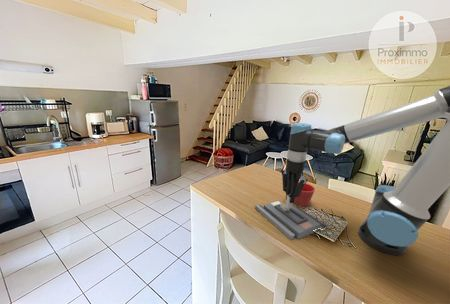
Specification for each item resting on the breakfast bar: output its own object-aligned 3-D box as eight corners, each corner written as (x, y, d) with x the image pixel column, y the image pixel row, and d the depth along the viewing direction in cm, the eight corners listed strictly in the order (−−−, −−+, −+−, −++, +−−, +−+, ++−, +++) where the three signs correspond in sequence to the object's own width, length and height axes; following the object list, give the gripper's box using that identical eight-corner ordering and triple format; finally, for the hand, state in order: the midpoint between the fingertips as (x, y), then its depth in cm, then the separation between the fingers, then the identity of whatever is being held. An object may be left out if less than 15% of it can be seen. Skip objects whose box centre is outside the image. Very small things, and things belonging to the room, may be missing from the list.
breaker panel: (319, 229, 80) (321, 222, 79) (298, 239, 74) (299, 231, 73) (282, 204, 99) (283, 197, 97) (263, 210, 93) (264, 203, 92)
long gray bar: (325, 229, 80) (326, 225, 80) (321, 231, 79) (322, 227, 79) (285, 202, 101) (285, 199, 100) (281, 203, 99) (281, 200, 99)
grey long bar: (296, 237, 75) (297, 234, 74) (290, 240, 74) (291, 236, 73) (259, 206, 95) (259, 203, 95) (254, 208, 94) (255, 205, 93)
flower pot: (314, 209, 95) (317, 192, 92) (291, 206, 97) (294, 189, 94) (309, 199, 105) (312, 183, 102) (289, 196, 107) (291, 181, 104)
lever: (289, 210, 88) (290, 201, 87) (284, 211, 86) (285, 203, 85) (284, 206, 90) (286, 198, 89) (279, 208, 89) (280, 200, 88)
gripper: (315, 163, 75) (305, 213, 82) (290, 154, 86) (284, 199, 93) (302, 165, 72) (293, 217, 79) (278, 156, 83) (272, 202, 90)
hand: (288, 207), depth 86 cm, fingers closed
